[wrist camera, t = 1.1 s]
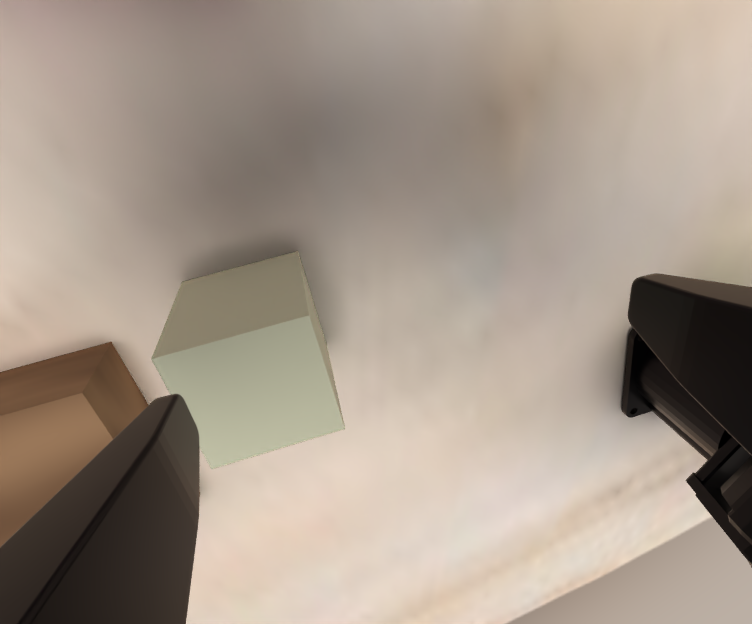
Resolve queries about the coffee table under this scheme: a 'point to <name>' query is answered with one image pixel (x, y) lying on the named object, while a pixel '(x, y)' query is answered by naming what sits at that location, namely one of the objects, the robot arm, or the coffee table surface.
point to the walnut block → (58, 425)
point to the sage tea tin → (250, 360)
